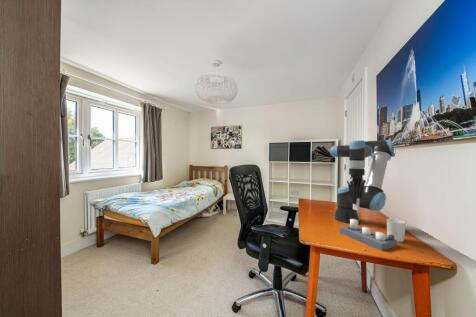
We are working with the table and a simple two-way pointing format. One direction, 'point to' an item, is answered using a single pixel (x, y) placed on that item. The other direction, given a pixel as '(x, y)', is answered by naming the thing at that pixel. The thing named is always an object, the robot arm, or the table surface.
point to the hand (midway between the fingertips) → (355, 209)
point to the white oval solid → (366, 231)
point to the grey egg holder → (369, 238)
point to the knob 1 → (353, 224)
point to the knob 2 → (380, 236)
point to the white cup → (396, 229)
